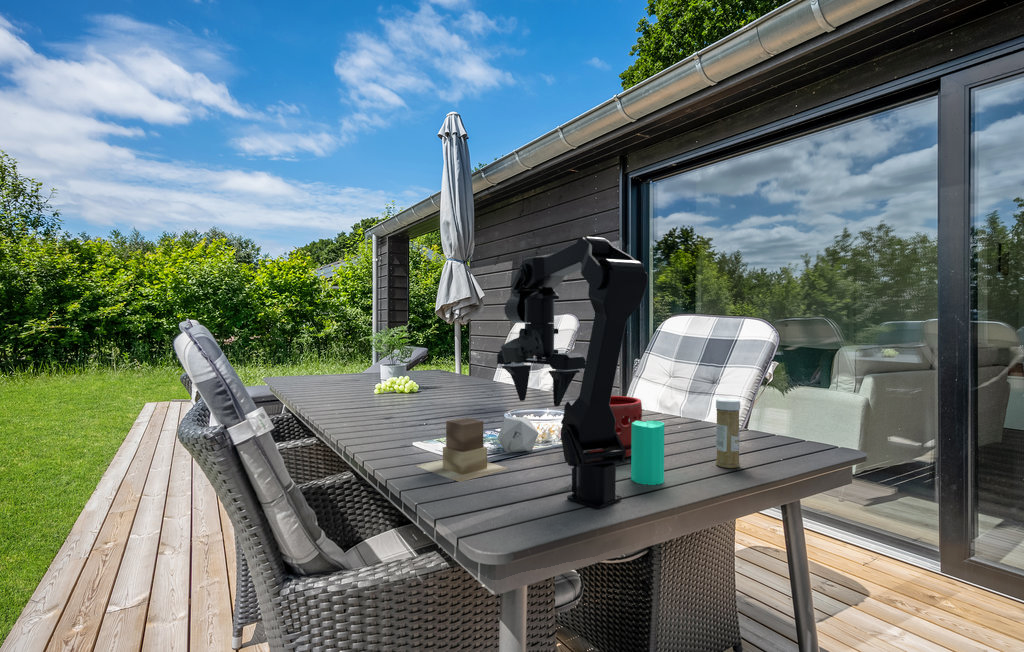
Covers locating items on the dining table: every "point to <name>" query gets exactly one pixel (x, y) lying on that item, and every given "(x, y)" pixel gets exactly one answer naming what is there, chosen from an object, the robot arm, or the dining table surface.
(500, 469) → the building board
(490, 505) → the dining table surface
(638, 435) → the candle
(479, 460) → the oak block
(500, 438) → the die
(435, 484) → the dining table surface
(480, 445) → the walnut cube
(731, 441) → the sprinkles bottle
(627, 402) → the plant pot
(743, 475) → the dining table surface
